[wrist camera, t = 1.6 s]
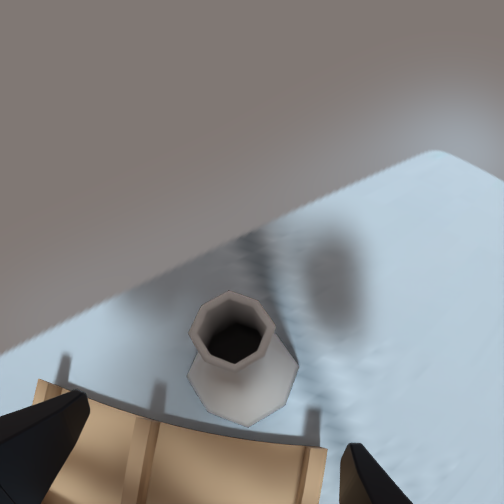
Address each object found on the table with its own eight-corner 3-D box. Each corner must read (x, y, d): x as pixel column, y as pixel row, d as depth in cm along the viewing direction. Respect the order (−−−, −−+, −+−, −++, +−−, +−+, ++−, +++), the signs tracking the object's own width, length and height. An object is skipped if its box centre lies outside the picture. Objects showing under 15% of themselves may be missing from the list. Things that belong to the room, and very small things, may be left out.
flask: (236, 305, 23) (224, 222, 14) (316, 364, 20) (360, 314, 12) (169, 377, 20) (108, 335, 11) (250, 445, 17) (244, 462, 9)
